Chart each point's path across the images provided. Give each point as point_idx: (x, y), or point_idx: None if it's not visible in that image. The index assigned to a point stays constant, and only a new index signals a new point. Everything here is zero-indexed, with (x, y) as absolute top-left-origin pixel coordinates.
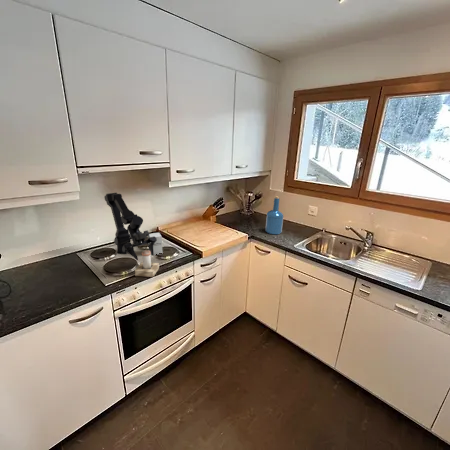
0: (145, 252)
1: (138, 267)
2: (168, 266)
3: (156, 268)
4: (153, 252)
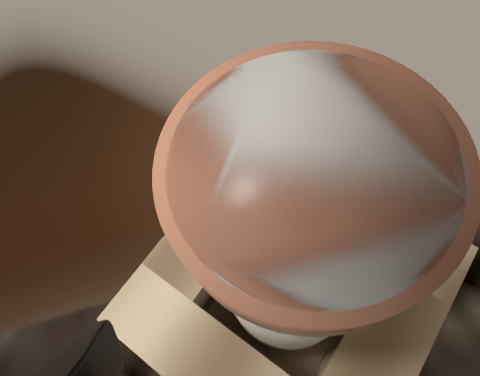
0: (335, 148)
1: (422, 323)
2: (9, 332)
3: None
4: (52, 359)
